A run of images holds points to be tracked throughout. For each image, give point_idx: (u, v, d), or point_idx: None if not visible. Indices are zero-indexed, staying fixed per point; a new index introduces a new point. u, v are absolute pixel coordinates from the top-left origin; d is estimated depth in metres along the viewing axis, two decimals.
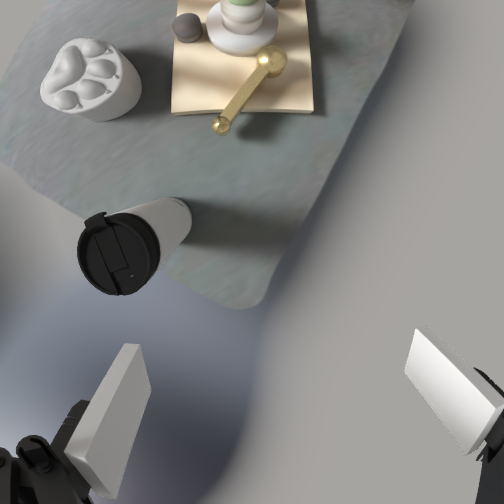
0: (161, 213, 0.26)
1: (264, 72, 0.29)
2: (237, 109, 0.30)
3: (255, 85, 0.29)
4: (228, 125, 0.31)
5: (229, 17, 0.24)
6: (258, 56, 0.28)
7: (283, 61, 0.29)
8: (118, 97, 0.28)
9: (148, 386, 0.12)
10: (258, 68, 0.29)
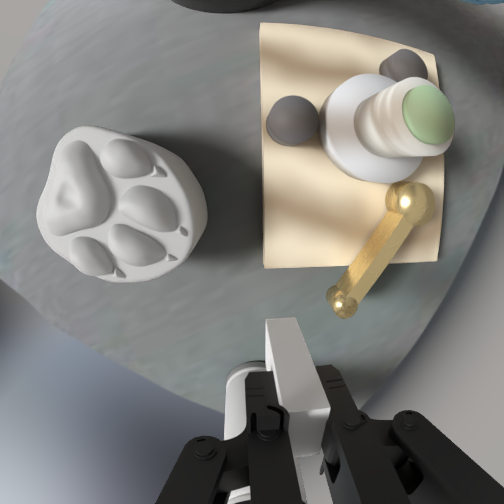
0: None
1: (408, 229, 0.21)
2: (369, 286, 0.22)
3: (395, 250, 0.22)
4: (355, 308, 0.23)
5: (389, 146, 0.16)
6: (403, 202, 0.21)
7: (430, 211, 0.21)
8: None
9: None
10: (401, 222, 0.21)
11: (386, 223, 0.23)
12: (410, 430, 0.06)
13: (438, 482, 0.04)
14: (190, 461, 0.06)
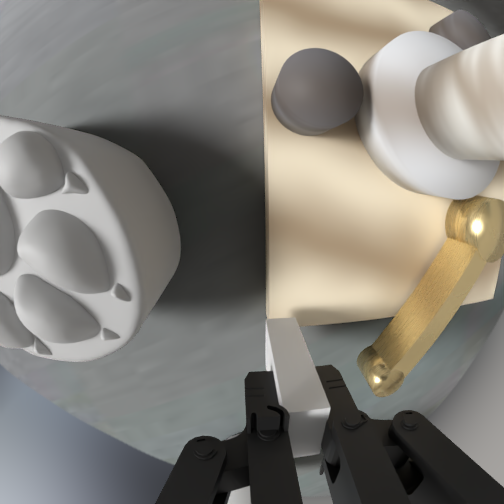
0: None
1: (480, 267, 0.12)
2: (423, 353, 0.13)
3: (462, 299, 0.13)
4: (400, 383, 0.14)
5: (490, 141, 0.07)
6: (479, 229, 0.12)
7: None
8: None
9: None
10: (474, 259, 0.12)
11: (449, 257, 0.14)
12: (410, 430, 0.06)
13: (438, 482, 0.04)
14: (190, 461, 0.06)
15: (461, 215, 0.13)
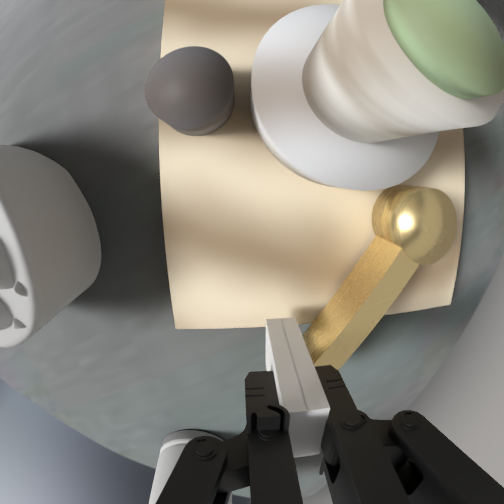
0: None
1: (409, 271, 0.12)
2: (337, 366, 0.13)
3: (385, 308, 0.12)
4: None
5: (368, 109, 0.07)
6: (402, 224, 0.11)
7: (448, 237, 0.12)
8: (48, 320, 0.12)
9: None
10: (398, 261, 0.12)
11: (372, 259, 0.14)
12: (410, 430, 0.06)
13: (437, 483, 0.04)
14: (190, 461, 0.06)
15: (385, 209, 0.13)
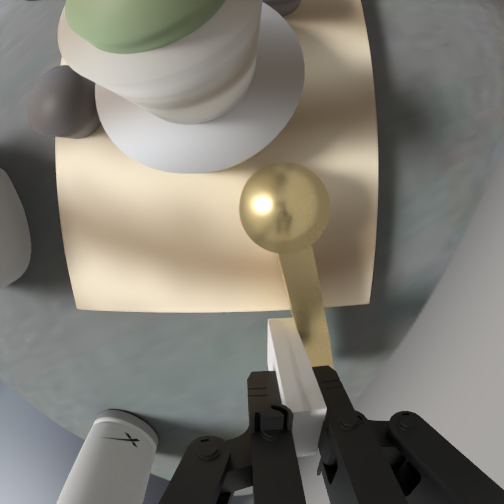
0: None
1: (307, 258, 0.12)
2: (330, 364, 0.13)
3: (319, 302, 0.12)
4: None
5: (119, 95, 0.07)
6: (256, 238, 0.12)
7: (316, 192, 0.11)
8: None
9: None
10: (286, 264, 0.12)
11: (280, 266, 0.14)
12: (407, 431, 0.06)
13: (435, 484, 0.04)
14: (194, 461, 0.06)
15: None
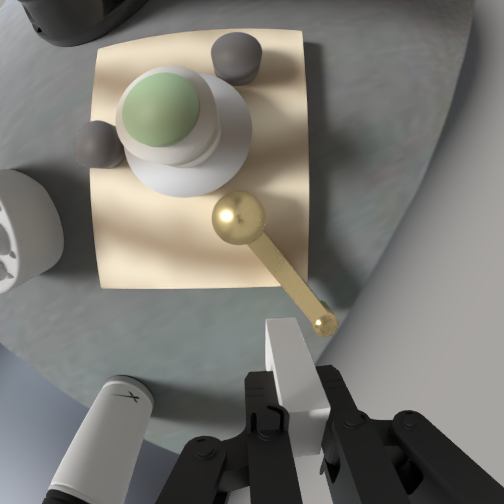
0: (107, 463, 0.16)
1: (264, 240, 0.20)
2: (314, 299, 0.21)
3: (284, 262, 0.20)
4: (332, 316, 0.21)
5: None
6: (230, 241, 0.20)
7: (251, 201, 0.19)
8: (26, 276, 0.19)
9: None
10: (254, 248, 0.20)
11: None
12: (410, 430, 0.06)
13: (438, 483, 0.04)
14: (190, 461, 0.06)
15: None
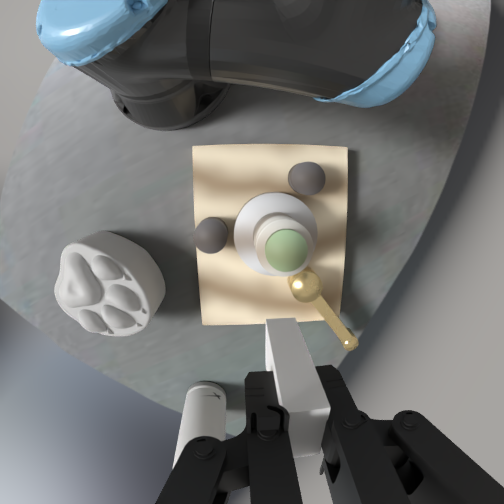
0: None
1: (320, 299, 0.33)
2: (345, 329, 0.34)
3: (330, 310, 0.33)
4: (355, 338, 0.35)
5: None
6: (301, 300, 0.33)
7: (315, 278, 0.32)
8: None
9: None
10: (314, 303, 0.33)
11: None
12: (410, 430, 0.06)
13: (438, 482, 0.04)
14: (190, 461, 0.06)
15: None
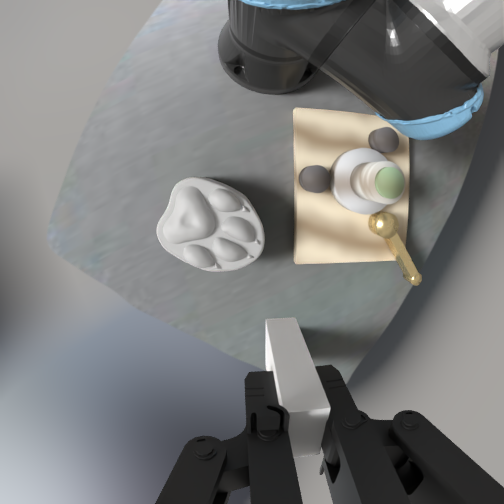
0: None
1: (397, 236, 0.38)
2: (413, 265, 0.39)
3: (403, 247, 0.38)
4: (419, 274, 0.39)
5: (368, 197, 0.33)
6: (383, 236, 0.38)
7: (393, 218, 0.37)
8: None
9: None
10: (392, 240, 0.38)
11: (388, 241, 0.40)
12: (410, 430, 0.06)
13: (438, 482, 0.04)
14: (190, 461, 0.06)
15: (376, 234, 0.39)
